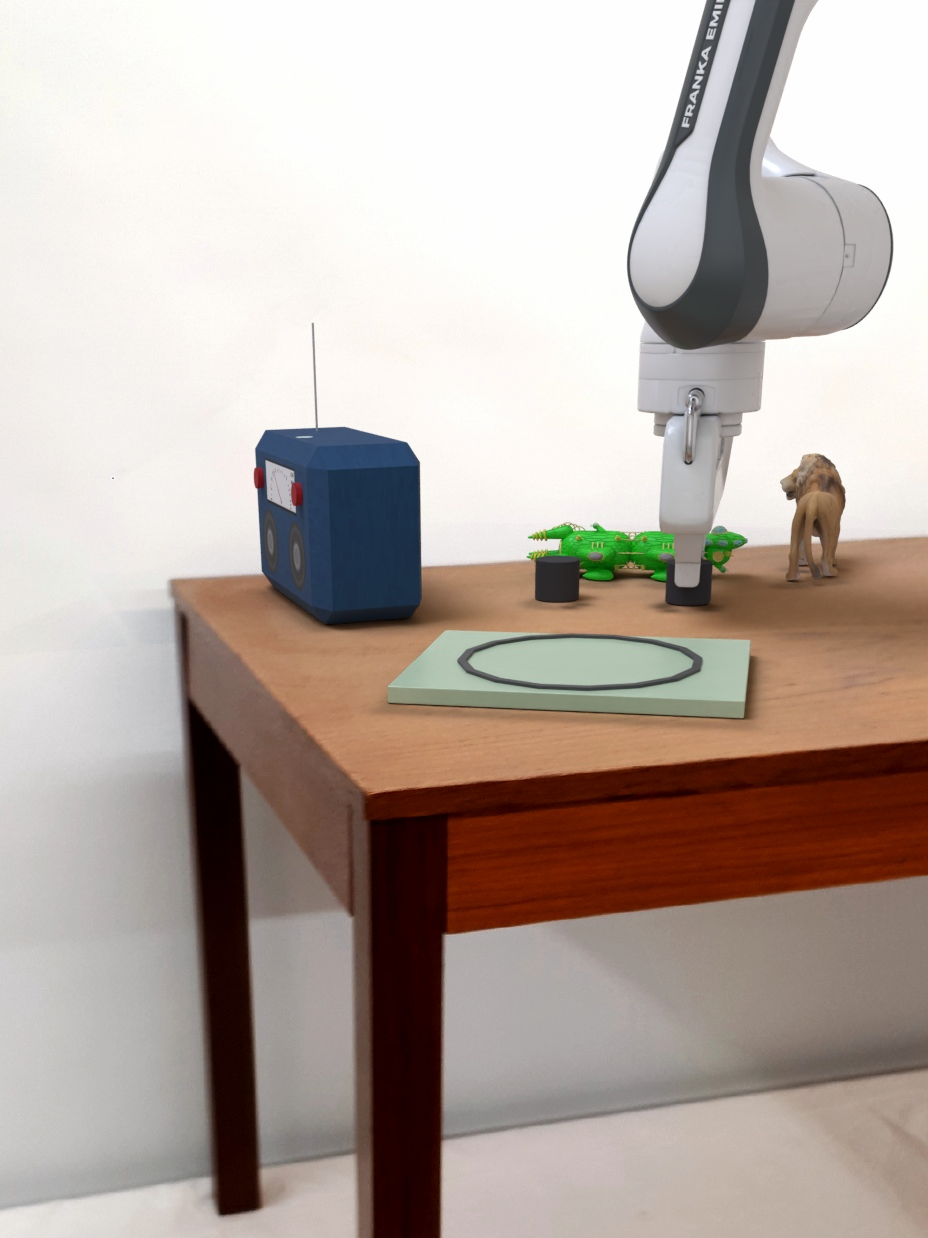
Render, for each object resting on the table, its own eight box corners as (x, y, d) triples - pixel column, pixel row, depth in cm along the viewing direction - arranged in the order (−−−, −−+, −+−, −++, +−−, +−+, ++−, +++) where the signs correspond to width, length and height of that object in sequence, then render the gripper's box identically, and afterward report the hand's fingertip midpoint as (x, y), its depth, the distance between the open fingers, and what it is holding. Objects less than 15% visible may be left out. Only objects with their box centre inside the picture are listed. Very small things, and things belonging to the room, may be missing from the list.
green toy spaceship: (746, 584, 118) (750, 529, 116) (523, 580, 121) (523, 527, 119) (743, 570, 124) (747, 518, 122) (531, 567, 127) (532, 516, 125)
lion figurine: (773, 557, 131) (781, 451, 127) (834, 557, 130) (844, 451, 126) (786, 585, 117) (795, 468, 114) (855, 586, 116) (866, 468, 113)
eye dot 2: (711, 598, 113) (713, 558, 112) (709, 606, 110) (711, 566, 108) (666, 597, 113) (668, 557, 112) (663, 605, 110) (665, 564, 109)
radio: (250, 584, 121) (235, 323, 114) (352, 576, 124) (344, 321, 116) (314, 632, 103) (301, 325, 95) (432, 622, 106) (429, 323, 98)
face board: (750, 655, 94) (751, 636, 94) (743, 718, 80) (745, 697, 79) (445, 644, 99) (445, 627, 98) (387, 703, 84) (386, 682, 84)
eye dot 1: (581, 594, 115) (582, 555, 114) (576, 602, 112) (577, 562, 111) (538, 593, 116) (539, 555, 114) (531, 601, 113) (532, 561, 111)
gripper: (740, 394, 96) (726, 607, 101) (747, 379, 114) (735, 560, 119) (643, 394, 97) (634, 604, 102) (665, 379, 115) (657, 558, 121)
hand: (688, 580), depth 111 cm, fingers closed on eye dot 2, 3 cm apart
